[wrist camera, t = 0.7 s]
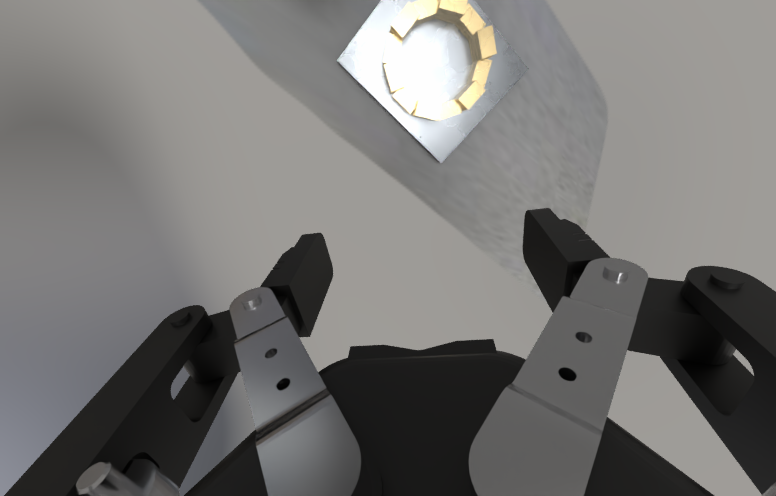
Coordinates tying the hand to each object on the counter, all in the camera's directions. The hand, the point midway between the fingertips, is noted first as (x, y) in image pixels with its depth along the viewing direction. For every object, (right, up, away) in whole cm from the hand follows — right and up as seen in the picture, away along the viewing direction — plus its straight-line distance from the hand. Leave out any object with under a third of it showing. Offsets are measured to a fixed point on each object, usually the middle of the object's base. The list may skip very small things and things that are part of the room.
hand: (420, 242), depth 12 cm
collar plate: (+3, +16, +16) cm, 23 cm away
